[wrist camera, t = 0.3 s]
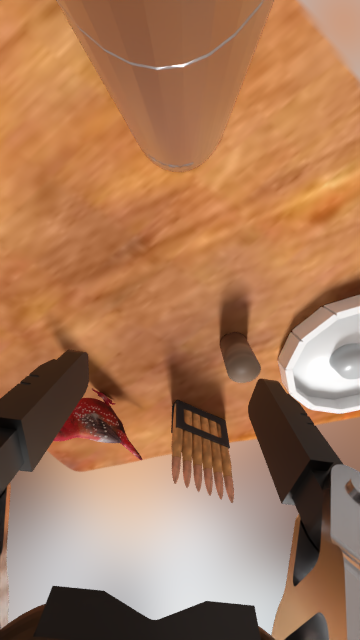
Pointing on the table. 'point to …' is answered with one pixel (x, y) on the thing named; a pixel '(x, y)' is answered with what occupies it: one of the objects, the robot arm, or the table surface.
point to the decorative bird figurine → (95, 423)
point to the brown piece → (239, 358)
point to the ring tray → (325, 358)
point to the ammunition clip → (201, 448)
